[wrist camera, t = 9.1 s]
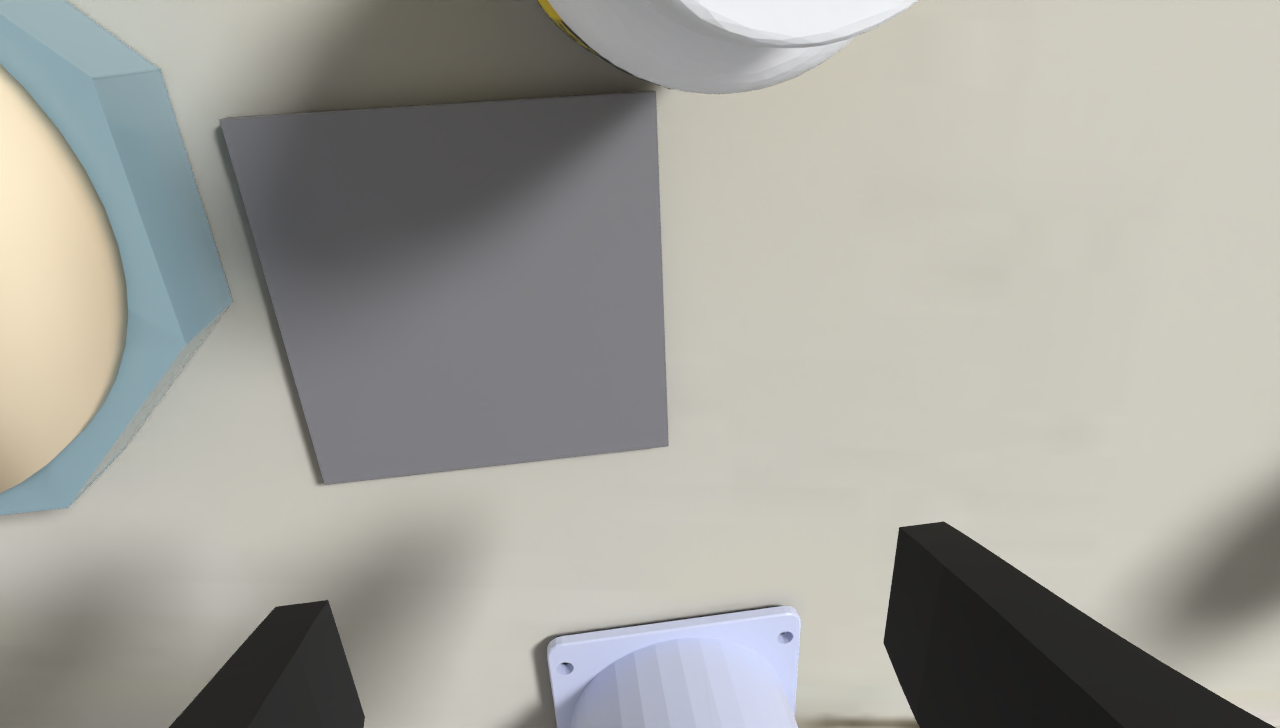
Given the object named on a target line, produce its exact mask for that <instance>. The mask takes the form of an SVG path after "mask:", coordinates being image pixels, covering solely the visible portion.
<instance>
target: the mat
mask: <svg viewBox="0 0 1280 728" xmlns="http://www.w3.org/2000/svg"><path fill="white" fill-rule="evenodd" d="M219 121H220V124H221V127H222V131H223V134H224V138H225V141H226V145H227V148H228V152H229V155H230V159H231V162H232V166H233V169H234V172H235V176H236V179H237V183H238V186H239V190H240V193H241V197H242V200H243V204H244V207H245V211H246V214H247V218H248V221H249V224H250V228H251V231H252V235H253V238H254V242H255V245H256V249H257V252H258V256H259V259H260V263H261V266H262V269H263V273H264V276H265V280H266V283H267V287H268V290H269V294H270V297H271V301H272V304H273V308H274V311H275V315H276V318H277V321H278V325H279V328H280V332H281V335H282V339H283V342H284V346H285V349H286V353H287V356H288V360H289V363H290V366H291V370H292V373H293V377H294V380H295V384H296V387H297V391H298V394H299V398H300V401H301V405H302V408H303V412H304V415H305V418H306V422H307V425H308V429H309V432H310V436H311V439H312V443H313V446H314V450H315V453H316V457H317V460H318V463H319V467H320V470H321V474H322V477H323V481H324V484H325V485H327V484H336V483H345V482H354V481H363V480H372V479H381V478H390V477H398V476H407V475H416V474H425V473H434V472H443V471H452V470H461V469H470V468H479V467H488V466H496V465H505V464H514V463H523V462H532V461H541V460H550V459H559V458H568V457H577V456H586V455H594V454H603V453H612V452H621V451H630V450H639V449H648V448H657V447H666V446H669V445H668V417H667V390H666V362H665V334H664V306H663V278H662V250H661V222H660V194H659V166H658V138H657V110H656V92H655V91H637V92H622V93H606V94H590V95H574V96H558V97H543V98H527V99H511V100H495V101H479V102H464V103H448V104H432V105H416V106H400V107H385V108H369V109H353V110H337V111H322V112H306V113H290V114H274V115H258V116H243V117H227V118H224V119H220V120H219Z"/></svg>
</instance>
